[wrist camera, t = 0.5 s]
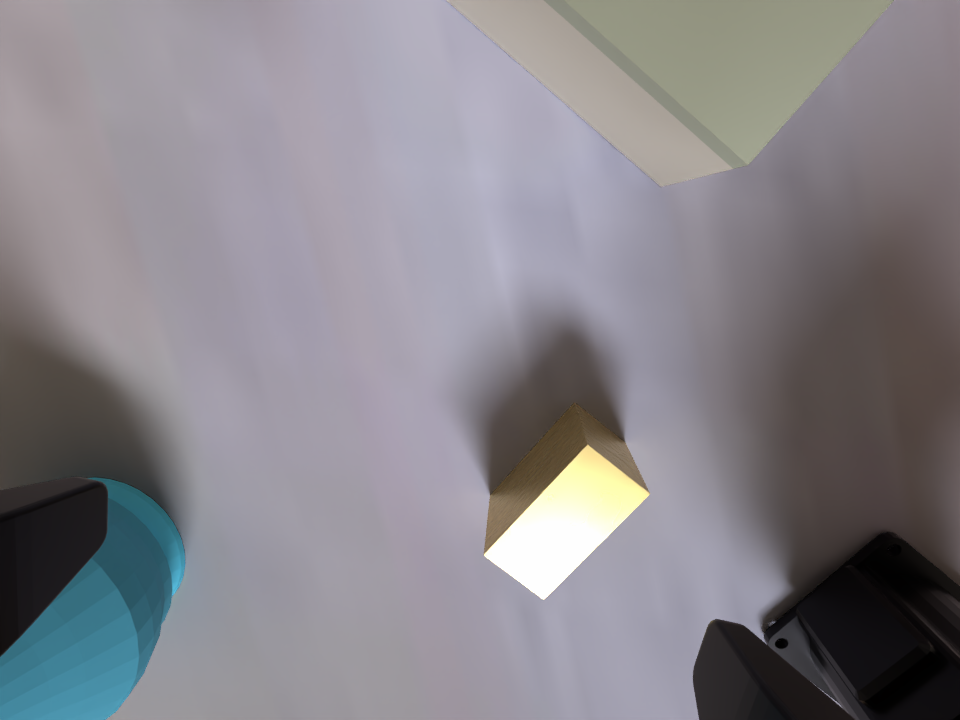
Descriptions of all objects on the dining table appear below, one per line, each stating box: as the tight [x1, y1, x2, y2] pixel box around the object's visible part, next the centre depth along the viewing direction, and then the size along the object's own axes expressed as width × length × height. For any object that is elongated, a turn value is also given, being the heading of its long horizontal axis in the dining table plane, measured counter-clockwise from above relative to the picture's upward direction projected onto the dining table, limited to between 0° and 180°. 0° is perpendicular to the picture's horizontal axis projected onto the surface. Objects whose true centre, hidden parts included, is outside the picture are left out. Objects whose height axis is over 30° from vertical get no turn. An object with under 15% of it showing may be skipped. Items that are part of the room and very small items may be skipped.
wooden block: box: [484, 402, 650, 599], centre depth 19 cm, size 2×5×4 cm, turn 141°
